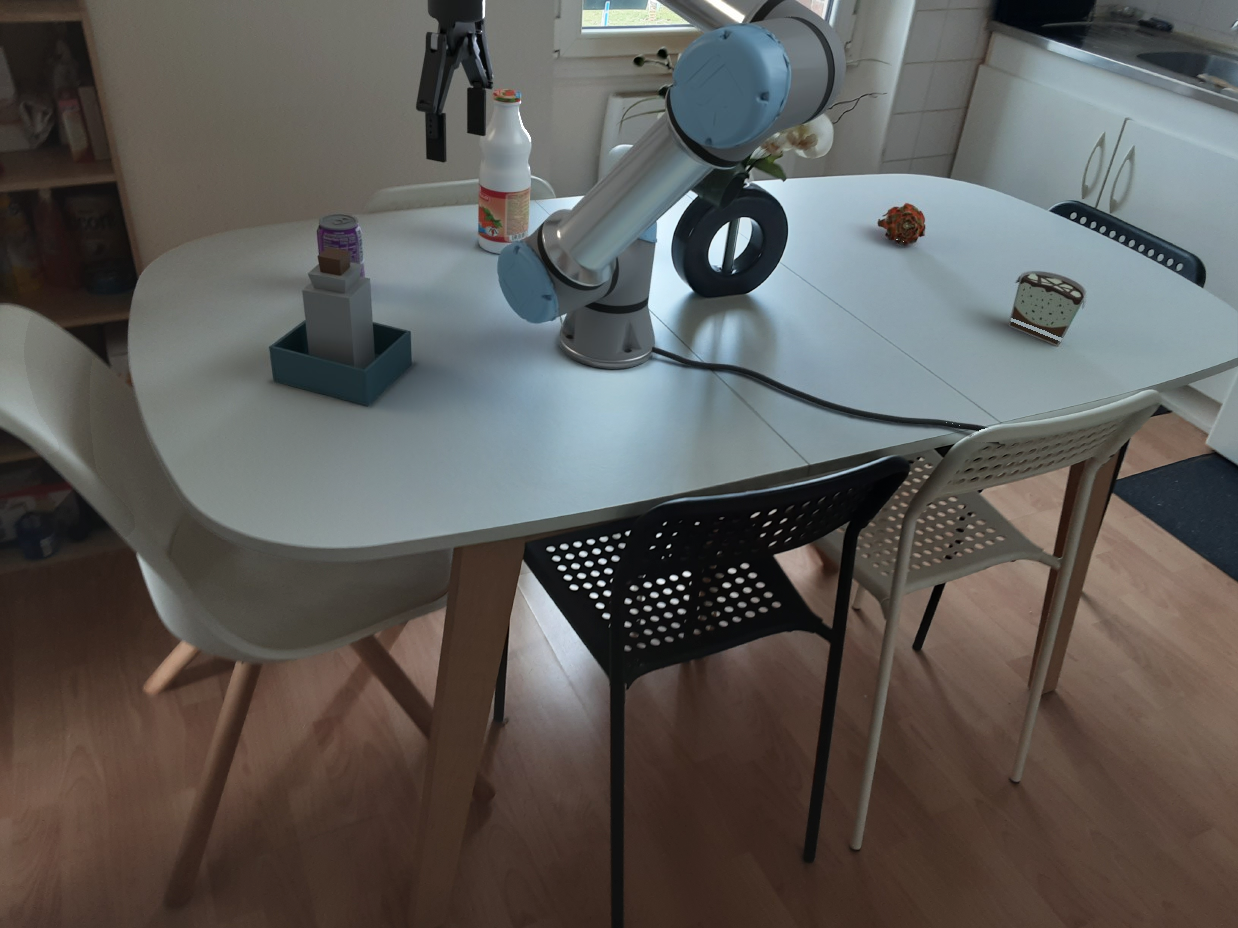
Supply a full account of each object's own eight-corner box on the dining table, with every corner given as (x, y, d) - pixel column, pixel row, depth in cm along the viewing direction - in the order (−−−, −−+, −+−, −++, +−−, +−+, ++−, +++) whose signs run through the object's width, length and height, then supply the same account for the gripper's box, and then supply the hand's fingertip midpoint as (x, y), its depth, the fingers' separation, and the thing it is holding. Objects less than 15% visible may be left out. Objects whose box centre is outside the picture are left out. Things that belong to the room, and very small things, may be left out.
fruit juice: (530, 256, 180) (536, 102, 164) (478, 255, 179) (480, 99, 162) (526, 235, 188) (532, 86, 171) (476, 234, 186) (478, 83, 170)
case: (412, 364, 145) (410, 331, 142) (367, 406, 135) (365, 371, 131) (323, 341, 148) (319, 308, 145) (273, 381, 138) (268, 346, 134)
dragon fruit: (907, 261, 199) (881, 245, 210) (942, 237, 199) (914, 222, 209) (891, 227, 195) (865, 213, 205) (927, 202, 194) (899, 189, 205)
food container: (1079, 339, 173) (1100, 288, 167) (1065, 349, 169) (1087, 298, 164) (1014, 313, 180) (1033, 263, 174) (1000, 323, 176) (1018, 272, 170)
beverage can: (350, 276, 167) (346, 209, 160) (373, 291, 163) (369, 223, 156) (313, 286, 162) (307, 217, 155) (336, 302, 158) (330, 233, 152)
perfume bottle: (355, 384, 138) (346, 267, 127) (311, 375, 139) (298, 259, 128) (375, 362, 143) (368, 248, 133) (332, 353, 144) (321, 240, 134)
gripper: (469, -31, 138) (469, 120, 150) (384, -4, 118) (392, 167, 131) (518, -23, 137) (514, 128, 149) (440, 5, 117) (443, 177, 129)
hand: (457, 147), depth 140 cm, fingers open, 13 cm apart
